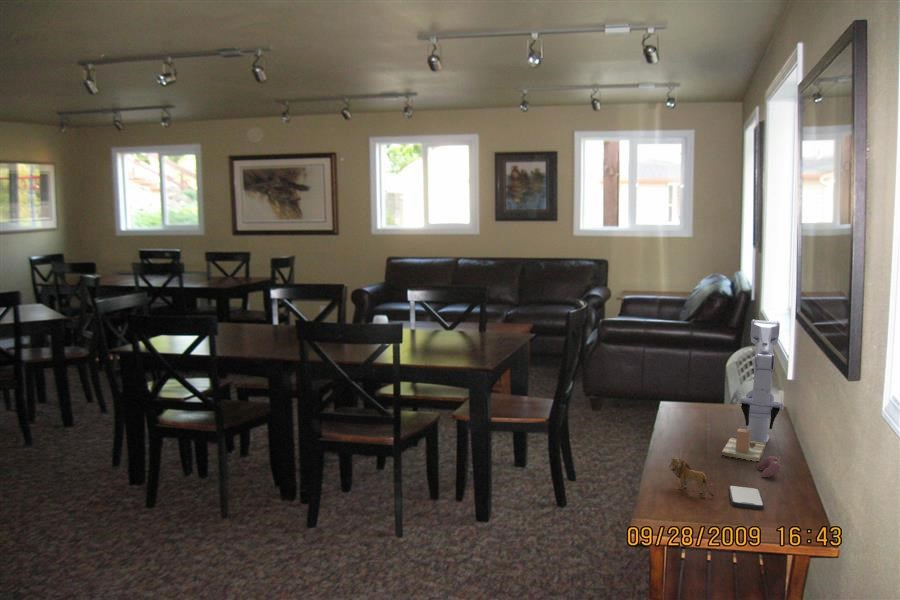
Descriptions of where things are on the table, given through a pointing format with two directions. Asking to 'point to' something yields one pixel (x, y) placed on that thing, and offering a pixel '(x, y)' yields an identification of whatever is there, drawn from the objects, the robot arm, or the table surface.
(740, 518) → the table surface
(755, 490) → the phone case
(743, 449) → the terracotta block
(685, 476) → the lion figurine
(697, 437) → the table surface
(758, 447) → the board
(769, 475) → the video game controller
